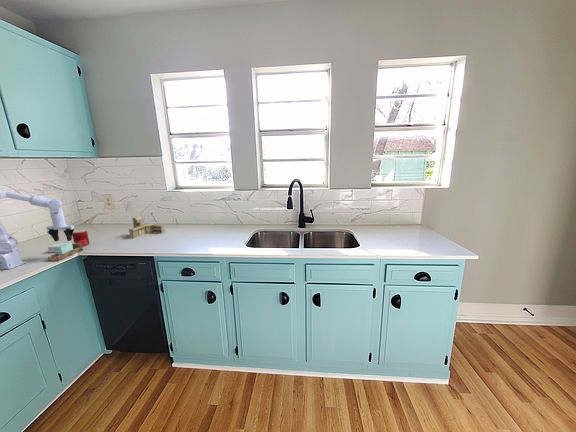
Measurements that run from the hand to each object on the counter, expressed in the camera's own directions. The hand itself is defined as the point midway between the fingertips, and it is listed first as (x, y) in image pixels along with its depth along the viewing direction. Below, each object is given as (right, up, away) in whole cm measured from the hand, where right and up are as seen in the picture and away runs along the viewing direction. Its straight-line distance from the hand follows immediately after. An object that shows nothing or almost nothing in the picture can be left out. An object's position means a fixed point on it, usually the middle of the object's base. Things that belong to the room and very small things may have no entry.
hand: (63, 240), depth 150 cm
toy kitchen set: (+28, 0, +42) cm, 51 cm away
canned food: (-6, -6, +21) cm, 22 cm away
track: (0, -10, +2) cm, 10 cm away
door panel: (0, -9, +2) cm, 9 cm away
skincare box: (-17, -6, +10) cm, 20 cm away
